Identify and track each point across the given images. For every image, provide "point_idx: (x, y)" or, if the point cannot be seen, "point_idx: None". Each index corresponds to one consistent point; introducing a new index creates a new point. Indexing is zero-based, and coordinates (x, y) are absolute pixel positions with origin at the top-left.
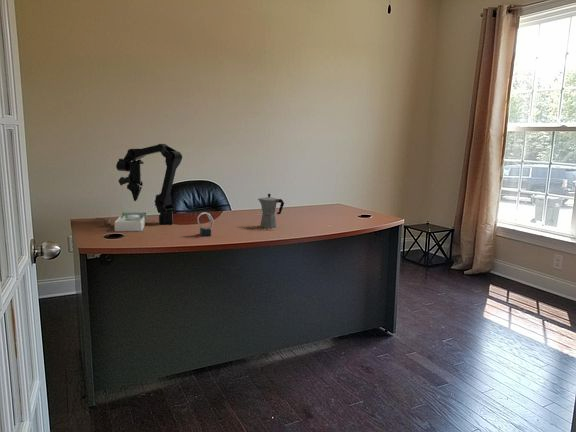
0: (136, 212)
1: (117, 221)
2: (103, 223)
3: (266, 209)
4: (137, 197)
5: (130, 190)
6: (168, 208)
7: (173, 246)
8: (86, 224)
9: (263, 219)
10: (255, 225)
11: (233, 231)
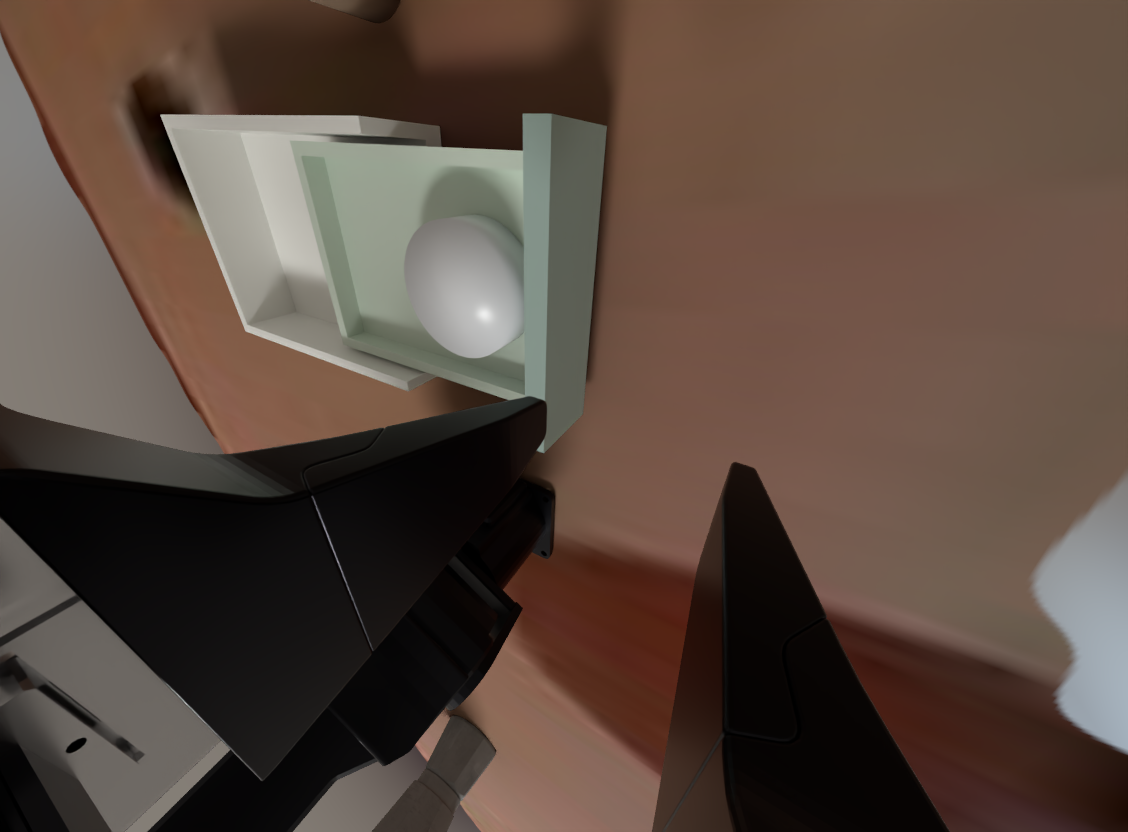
0: (526, 344)
1: (225, 130)
2: None
3: (406, 790)
4: (703, 556)
5: (117, 448)
6: (495, 625)
7: (189, 389)
8: None
9: (441, 749)
10: (488, 730)
11: None
